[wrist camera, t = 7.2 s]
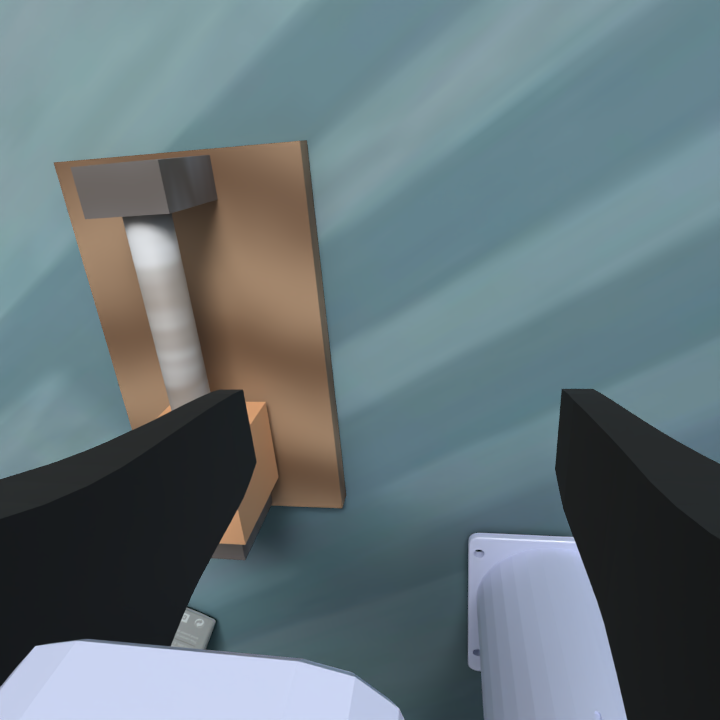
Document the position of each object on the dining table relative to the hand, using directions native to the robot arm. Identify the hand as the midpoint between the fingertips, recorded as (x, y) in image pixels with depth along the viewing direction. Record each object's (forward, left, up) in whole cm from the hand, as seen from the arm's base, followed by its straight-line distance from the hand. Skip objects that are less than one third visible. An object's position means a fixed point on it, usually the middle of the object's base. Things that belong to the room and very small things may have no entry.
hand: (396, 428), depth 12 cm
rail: (-2, +9, -10) cm, 14 cm away
